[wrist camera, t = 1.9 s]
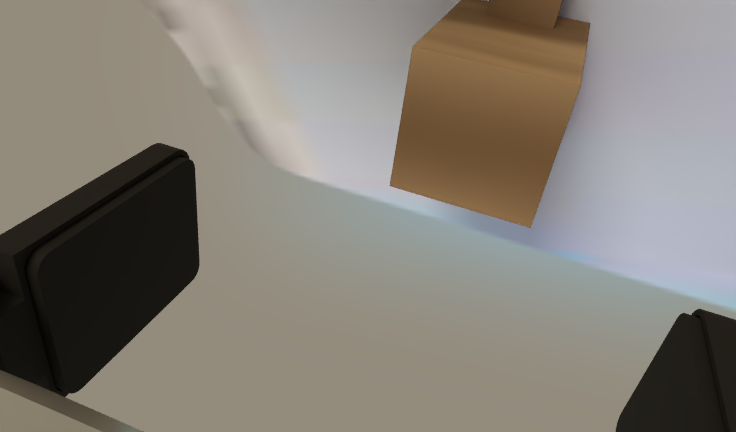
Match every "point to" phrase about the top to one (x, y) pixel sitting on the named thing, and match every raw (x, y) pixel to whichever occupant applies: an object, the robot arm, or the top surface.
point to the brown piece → (489, 105)
